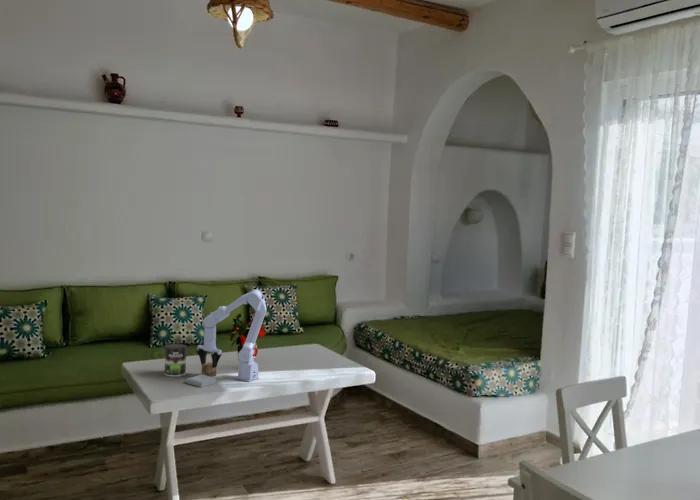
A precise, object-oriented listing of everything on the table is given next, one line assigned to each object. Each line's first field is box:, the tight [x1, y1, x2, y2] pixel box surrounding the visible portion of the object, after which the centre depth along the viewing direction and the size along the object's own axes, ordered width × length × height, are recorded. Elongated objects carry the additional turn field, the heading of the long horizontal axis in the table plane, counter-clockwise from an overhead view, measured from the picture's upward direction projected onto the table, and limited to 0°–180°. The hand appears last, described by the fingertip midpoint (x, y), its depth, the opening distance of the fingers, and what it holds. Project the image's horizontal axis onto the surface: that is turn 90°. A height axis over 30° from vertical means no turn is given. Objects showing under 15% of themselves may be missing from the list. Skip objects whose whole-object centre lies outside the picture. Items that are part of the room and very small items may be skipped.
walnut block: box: [201, 362, 217, 378], centre depth 302 cm, size 5×5×6 cm
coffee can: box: [164, 343, 188, 378], centre depth 302 cm, size 10×10×14 cm
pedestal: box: [185, 373, 218, 388], centre depth 291 cm, size 10×10×2 cm
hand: (208, 365), depth 302 cm, fingers open, 7 cm apart
